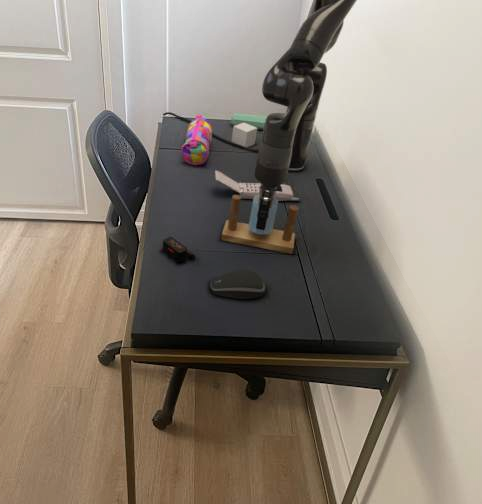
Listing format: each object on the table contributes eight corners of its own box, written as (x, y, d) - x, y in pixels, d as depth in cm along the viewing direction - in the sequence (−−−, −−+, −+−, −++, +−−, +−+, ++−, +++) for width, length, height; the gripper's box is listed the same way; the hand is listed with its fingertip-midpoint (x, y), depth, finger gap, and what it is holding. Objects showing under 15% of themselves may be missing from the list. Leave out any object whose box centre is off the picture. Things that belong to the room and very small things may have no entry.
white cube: (254, 144, 175) (257, 128, 171) (244, 148, 171) (247, 132, 167) (241, 138, 178) (244, 122, 174) (231, 142, 174) (233, 126, 170)
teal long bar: (232, 110, 182) (299, 118, 181) (232, 111, 188) (297, 119, 187) (230, 127, 183) (297, 135, 182) (230, 127, 189) (295, 135, 188)
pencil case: (184, 138, 173) (186, 113, 167) (211, 141, 173) (214, 116, 168) (179, 165, 155) (181, 138, 150) (209, 169, 155) (212, 142, 150)
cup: (250, 219, 127) (255, 192, 122) (273, 223, 126) (279, 196, 121) (247, 231, 122) (252, 203, 117) (271, 236, 121) (277, 208, 116)
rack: (221, 240, 124) (226, 202, 118) (225, 225, 130) (231, 188, 123) (292, 254, 122) (301, 216, 116) (293, 238, 128) (302, 202, 121)
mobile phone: (214, 169, 142) (299, 175, 144) (212, 187, 146) (295, 193, 148) (215, 179, 137) (303, 185, 140) (213, 198, 141) (298, 203, 143)
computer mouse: (208, 278, 111) (210, 264, 109) (262, 280, 113) (265, 266, 110) (211, 298, 106) (213, 284, 103) (267, 300, 107) (270, 286, 105)
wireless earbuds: (180, 266, 114) (181, 254, 112) (161, 251, 118) (162, 240, 116) (195, 259, 117) (196, 247, 115) (176, 244, 120) (177, 233, 119)
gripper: (287, 176, 107) (274, 240, 117) (291, 150, 118) (278, 210, 128) (253, 170, 108) (242, 234, 117) (260, 145, 119) (250, 205, 129)
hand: (261, 221), depth 123 cm, fingers closed on cup, 6 cm apart
